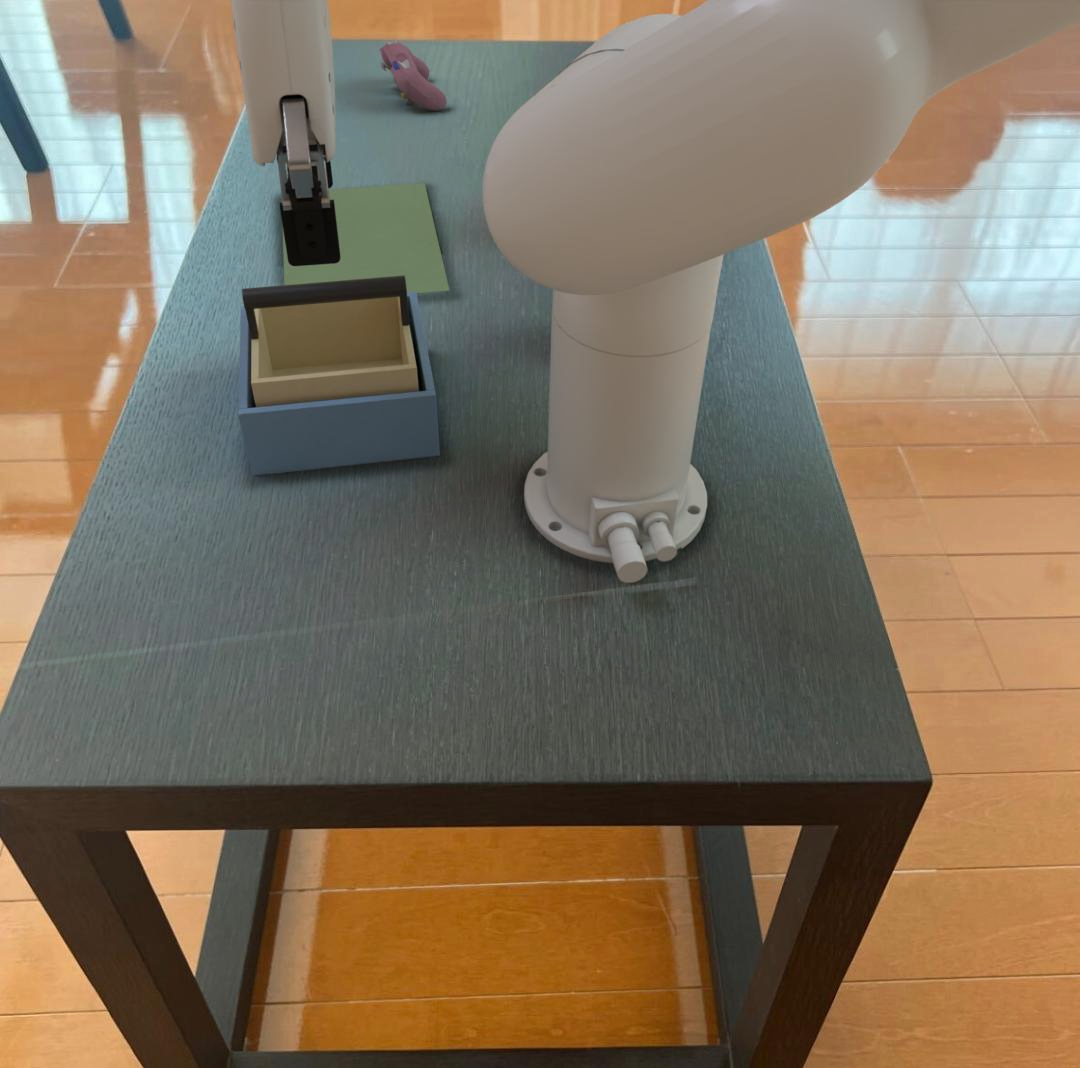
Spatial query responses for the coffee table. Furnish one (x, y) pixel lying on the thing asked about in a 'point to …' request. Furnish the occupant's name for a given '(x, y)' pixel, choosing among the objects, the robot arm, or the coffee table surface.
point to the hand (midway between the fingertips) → (312, 223)
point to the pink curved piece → (411, 76)
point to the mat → (381, 239)
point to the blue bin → (340, 419)
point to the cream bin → (330, 340)
